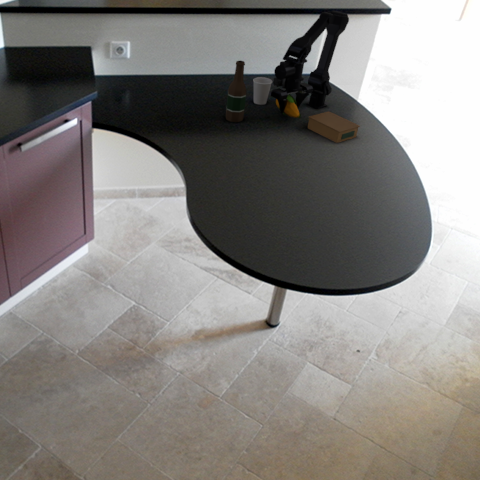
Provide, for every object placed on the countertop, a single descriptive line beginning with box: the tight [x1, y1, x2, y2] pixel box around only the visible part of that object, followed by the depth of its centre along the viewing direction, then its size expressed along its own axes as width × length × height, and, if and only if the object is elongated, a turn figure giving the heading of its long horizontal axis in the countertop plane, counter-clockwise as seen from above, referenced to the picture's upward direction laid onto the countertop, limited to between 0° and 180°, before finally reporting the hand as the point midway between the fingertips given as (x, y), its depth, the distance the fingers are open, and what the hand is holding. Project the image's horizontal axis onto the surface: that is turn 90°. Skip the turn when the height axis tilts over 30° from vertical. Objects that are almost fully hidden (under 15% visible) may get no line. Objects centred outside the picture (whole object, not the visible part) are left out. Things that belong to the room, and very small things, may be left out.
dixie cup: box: [252, 76, 273, 106], centre depth 260 cm, size 8×8×10 cm
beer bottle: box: [225, 60, 247, 123], centre depth 239 cm, size 8×8×24 cm
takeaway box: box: [307, 110, 361, 144], centre depth 236 cm, size 17×12×5 cm
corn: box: [275, 94, 302, 119], centre depth 247 cm, size 7×8×20 cm
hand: (288, 110), depth 249 cm, fingers closed on corn, 8 cm apart
